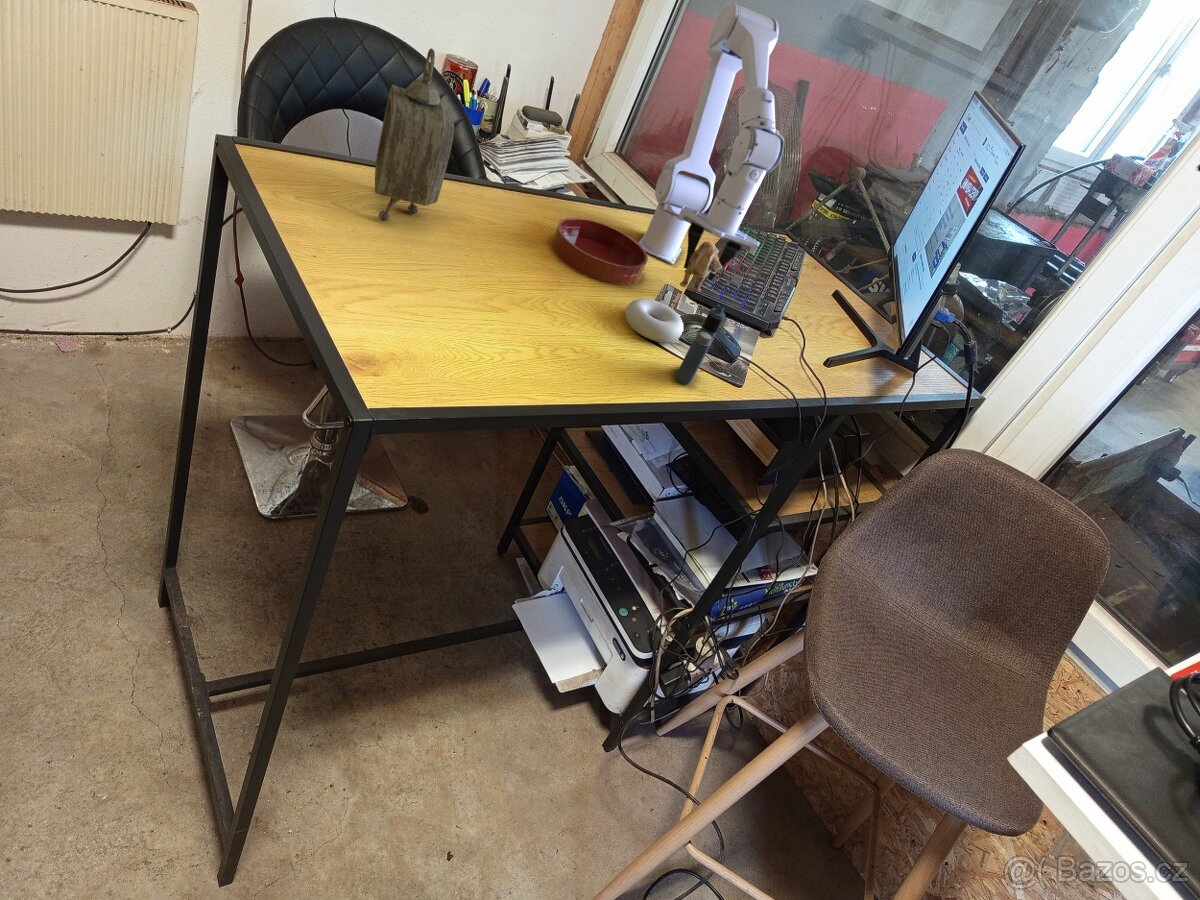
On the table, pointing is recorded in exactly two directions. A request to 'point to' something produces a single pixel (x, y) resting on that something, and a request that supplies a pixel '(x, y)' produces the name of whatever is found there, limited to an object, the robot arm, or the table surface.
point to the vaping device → (700, 345)
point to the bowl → (599, 251)
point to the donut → (654, 320)
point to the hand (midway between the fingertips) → (698, 272)
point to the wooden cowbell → (414, 144)
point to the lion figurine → (702, 264)
